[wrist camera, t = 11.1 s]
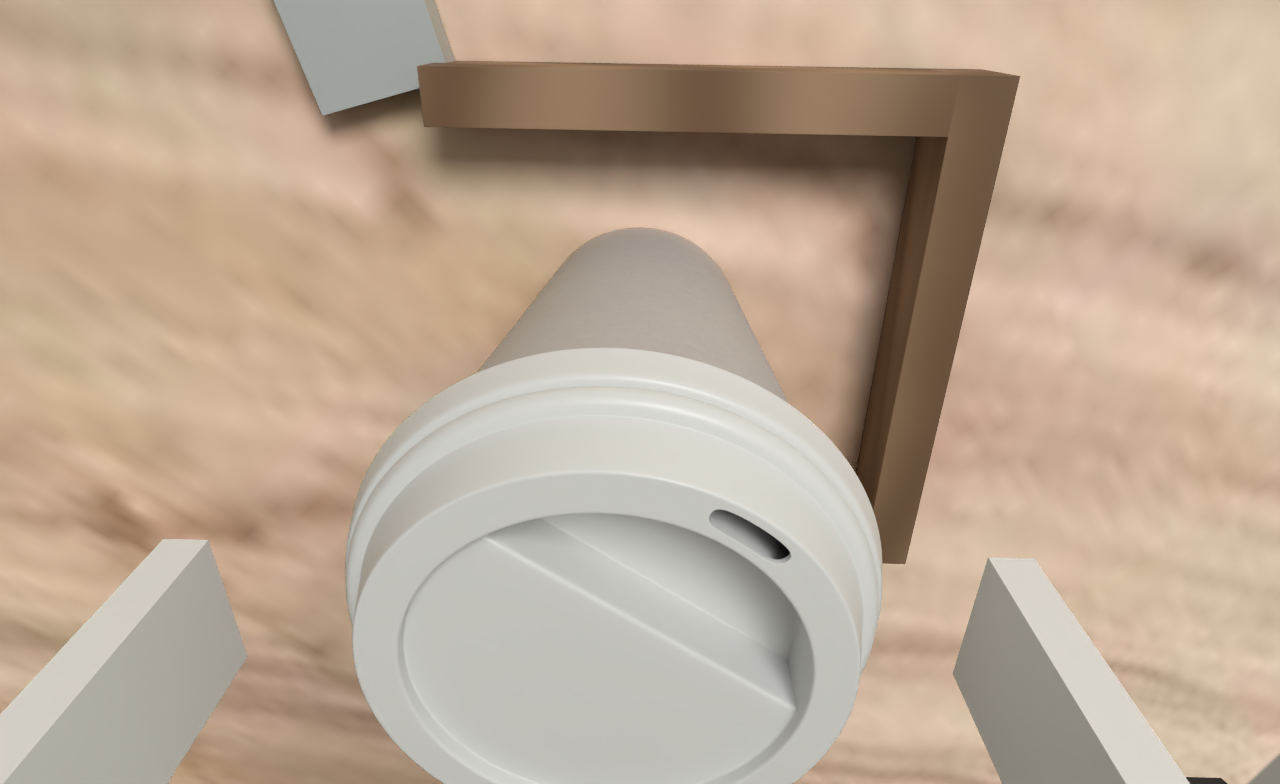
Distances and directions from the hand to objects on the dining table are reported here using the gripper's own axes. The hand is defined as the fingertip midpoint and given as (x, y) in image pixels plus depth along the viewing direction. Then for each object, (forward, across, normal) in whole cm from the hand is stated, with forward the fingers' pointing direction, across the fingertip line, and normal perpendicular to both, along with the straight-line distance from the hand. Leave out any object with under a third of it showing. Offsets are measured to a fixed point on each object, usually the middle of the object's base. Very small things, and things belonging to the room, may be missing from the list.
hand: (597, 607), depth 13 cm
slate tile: (+14, -7, +9) cm, 18 cm away
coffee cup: (+14, 0, 0) cm, 14 cm away
